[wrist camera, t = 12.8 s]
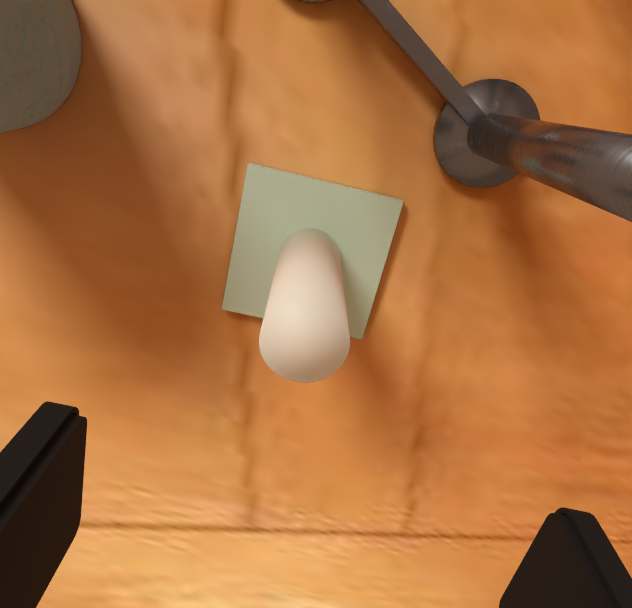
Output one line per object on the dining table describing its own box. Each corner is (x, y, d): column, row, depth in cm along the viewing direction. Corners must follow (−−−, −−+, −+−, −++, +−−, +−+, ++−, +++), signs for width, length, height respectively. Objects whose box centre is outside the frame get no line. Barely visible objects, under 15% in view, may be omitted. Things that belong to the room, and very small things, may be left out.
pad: (402, 199, 27) (403, 201, 26) (361, 335, 30) (362, 339, 29) (249, 162, 26) (248, 164, 26) (223, 305, 29) (221, 309, 29)
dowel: (346, 235, 27) (360, 312, 18) (331, 291, 28) (337, 390, 19) (286, 221, 27) (268, 292, 18) (273, 278, 28) (251, 372, 19)
